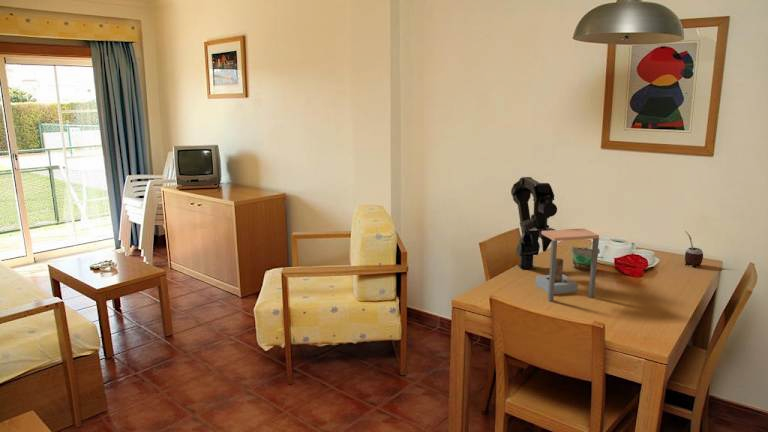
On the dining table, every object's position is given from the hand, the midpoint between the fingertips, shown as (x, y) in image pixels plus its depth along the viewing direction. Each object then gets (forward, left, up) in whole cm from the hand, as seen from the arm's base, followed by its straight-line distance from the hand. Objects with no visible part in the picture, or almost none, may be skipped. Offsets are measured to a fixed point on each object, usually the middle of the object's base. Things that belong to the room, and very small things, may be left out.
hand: (539, 249), depth 225 cm
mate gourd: (-8, +75, -13) cm, 76 cm away
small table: (+16, +3, -13) cm, 21 cm away
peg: (+13, +3, -13) cm, 18 cm away
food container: (-8, +24, -13) cm, 28 cm away
